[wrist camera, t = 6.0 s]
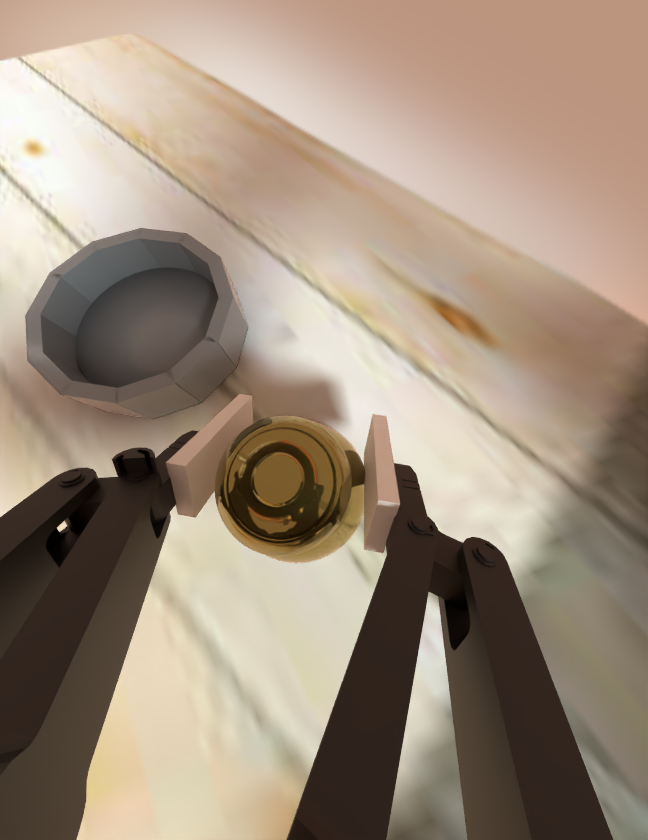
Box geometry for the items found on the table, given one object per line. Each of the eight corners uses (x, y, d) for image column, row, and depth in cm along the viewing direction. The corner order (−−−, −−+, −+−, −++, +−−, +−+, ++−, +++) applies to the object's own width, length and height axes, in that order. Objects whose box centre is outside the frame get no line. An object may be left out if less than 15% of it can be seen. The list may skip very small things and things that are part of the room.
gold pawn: (304, 415, 19) (280, 336, 10) (381, 486, 18) (442, 475, 8) (228, 490, 18) (115, 482, 8) (306, 574, 17) (273, 682, 7)
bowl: (262, 277, 23) (251, 240, 20) (218, 430, 19) (194, 416, 16) (114, 259, 24) (79, 221, 21) (43, 401, 20) (-13, 382, 17)
